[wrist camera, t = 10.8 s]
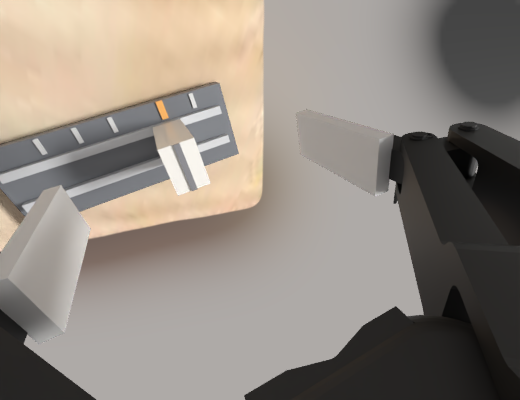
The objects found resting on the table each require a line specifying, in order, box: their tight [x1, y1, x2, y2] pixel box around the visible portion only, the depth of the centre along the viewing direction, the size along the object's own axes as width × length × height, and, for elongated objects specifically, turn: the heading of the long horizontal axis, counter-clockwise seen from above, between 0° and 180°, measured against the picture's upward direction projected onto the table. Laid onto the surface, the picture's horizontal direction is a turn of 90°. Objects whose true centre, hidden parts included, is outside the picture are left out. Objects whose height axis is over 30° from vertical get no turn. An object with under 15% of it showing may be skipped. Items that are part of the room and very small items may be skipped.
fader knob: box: [153, 119, 210, 196], centre depth 30 cm, size 5×4×11 cm
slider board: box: [0, 82, 239, 216], centre depth 34 cm, size 10×28×3 cm, turn 104°
